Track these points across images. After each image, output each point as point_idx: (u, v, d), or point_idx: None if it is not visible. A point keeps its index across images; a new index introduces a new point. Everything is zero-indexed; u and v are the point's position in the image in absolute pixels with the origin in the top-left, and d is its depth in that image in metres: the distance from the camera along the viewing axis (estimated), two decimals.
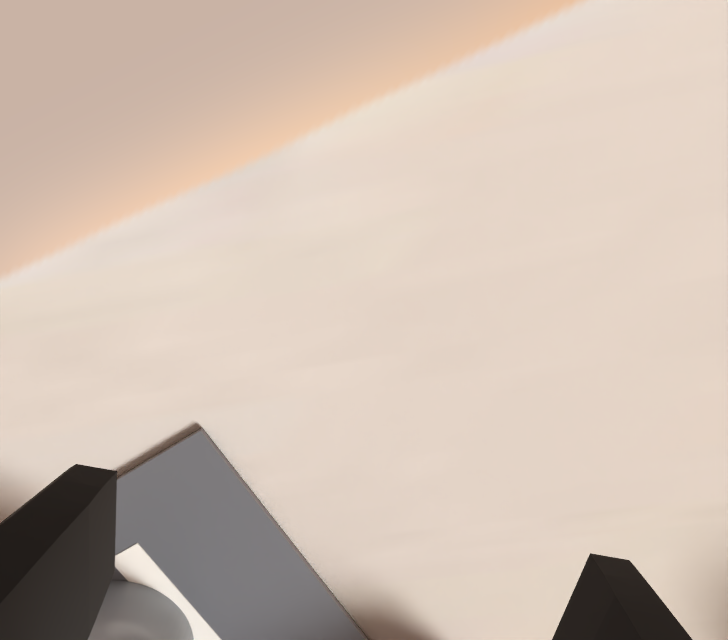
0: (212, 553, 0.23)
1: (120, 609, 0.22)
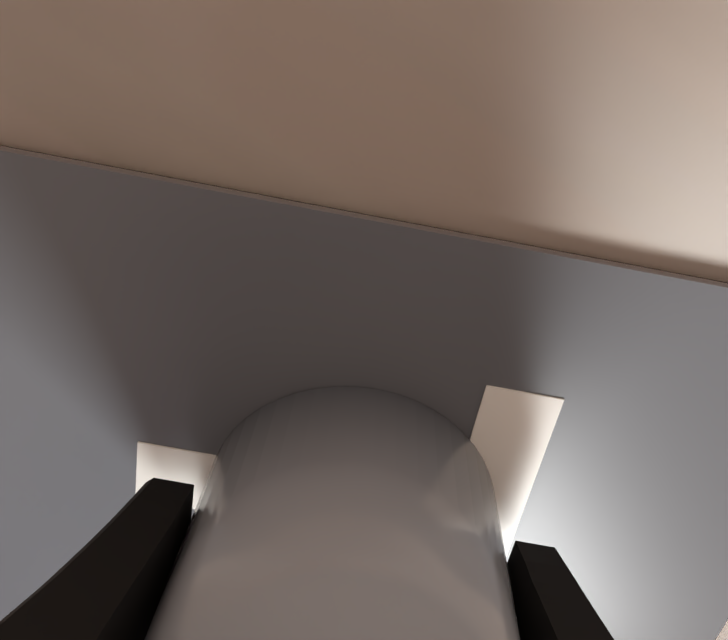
0: (643, 501, 0.11)
1: (483, 502, 0.10)
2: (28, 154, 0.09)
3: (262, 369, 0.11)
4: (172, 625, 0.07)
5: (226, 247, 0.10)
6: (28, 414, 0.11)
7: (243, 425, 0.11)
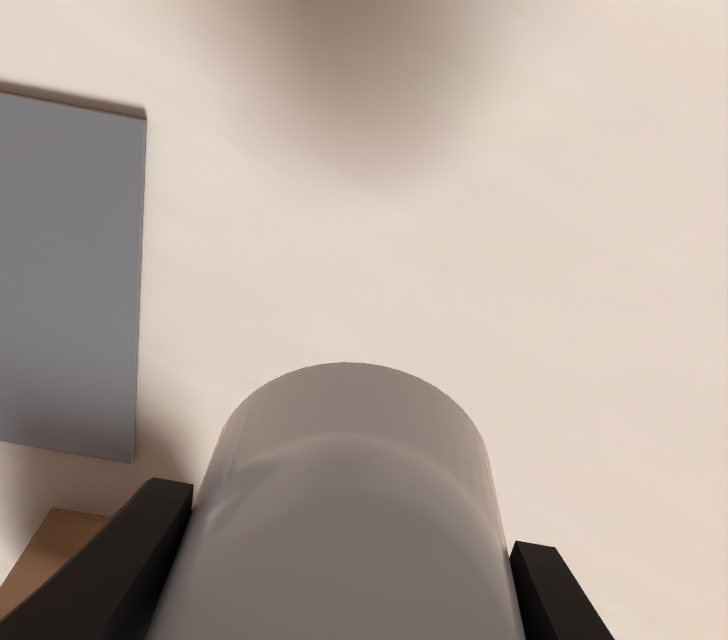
0: (45, 255, 0.18)
1: (483, 474, 0.10)
2: None
3: None
4: (192, 577, 0.08)
5: None
6: None
7: (251, 398, 0.11)
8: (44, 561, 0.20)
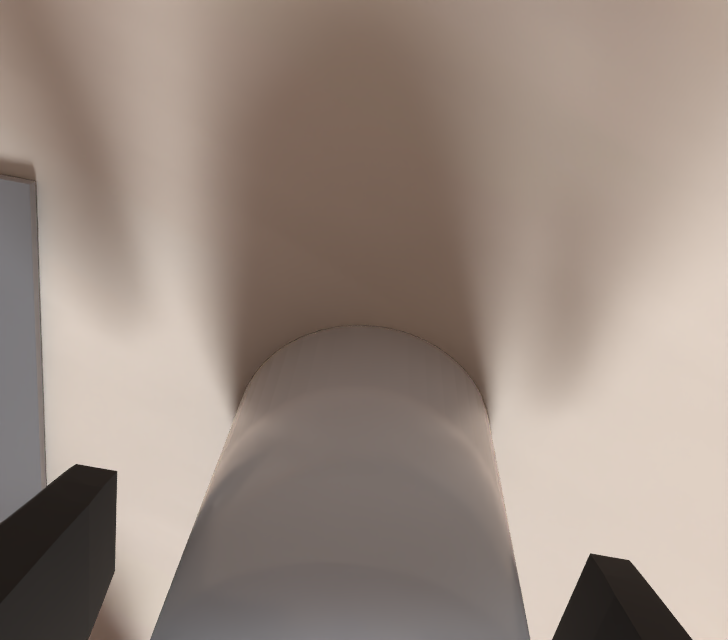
0: None
1: (481, 424, 0.12)
2: None
3: None
4: (226, 497, 0.09)
5: None
6: None
7: (273, 357, 0.12)
8: None
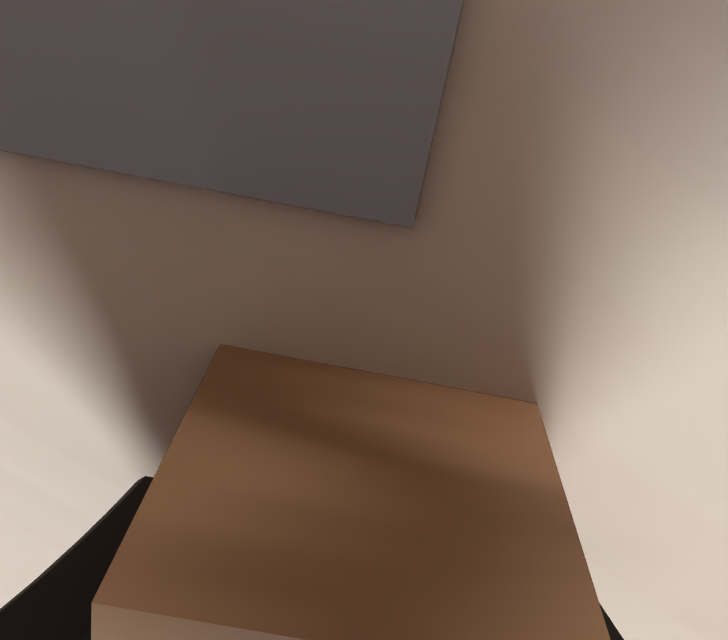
0: None
1: None
2: None
3: None
4: None
5: None
6: None
7: None
8: (236, 431, 0.09)
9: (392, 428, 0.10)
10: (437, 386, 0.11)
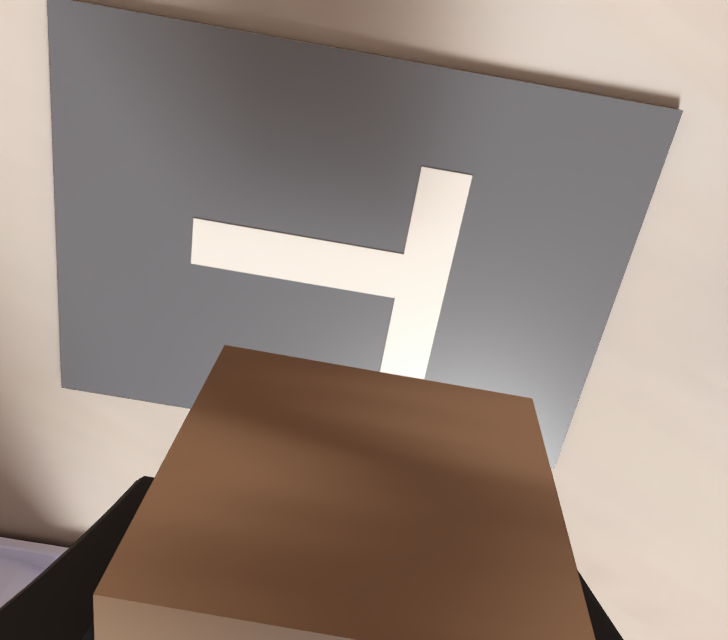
0: (530, 253, 0.17)
1: None
2: (128, 12, 0.15)
3: (276, 159, 0.16)
4: None
5: (252, 71, 0.15)
6: (121, 199, 0.17)
7: None
8: (236, 431, 0.09)
9: (388, 426, 0.10)
10: (434, 385, 0.11)
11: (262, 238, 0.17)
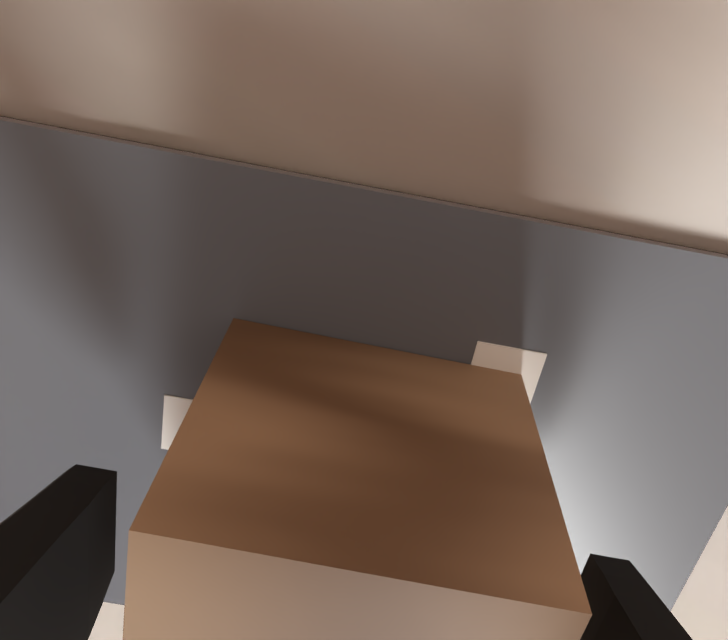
0: (619, 448, 0.13)
1: None
2: (73, 133, 0.11)
3: None
4: None
5: (246, 216, 0.11)
6: (66, 369, 0.12)
7: None
8: (249, 394, 0.10)
9: (389, 395, 0.11)
10: (431, 360, 0.12)
11: None
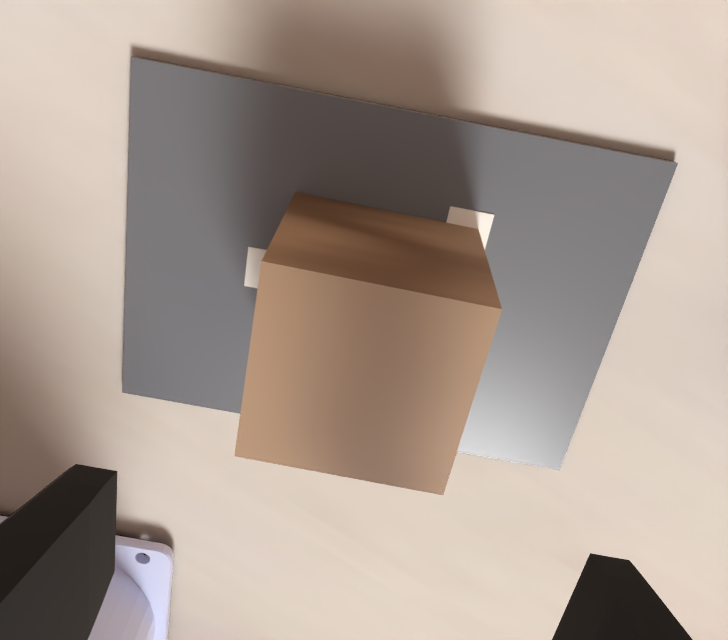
0: (543, 282, 0.19)
1: None
2: (201, 71, 0.17)
3: None
4: None
5: (306, 123, 0.18)
6: (185, 229, 0.19)
7: None
8: (312, 222, 0.17)
9: (394, 230, 0.17)
10: (420, 220, 0.19)
11: None
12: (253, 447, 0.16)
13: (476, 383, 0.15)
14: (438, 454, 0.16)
